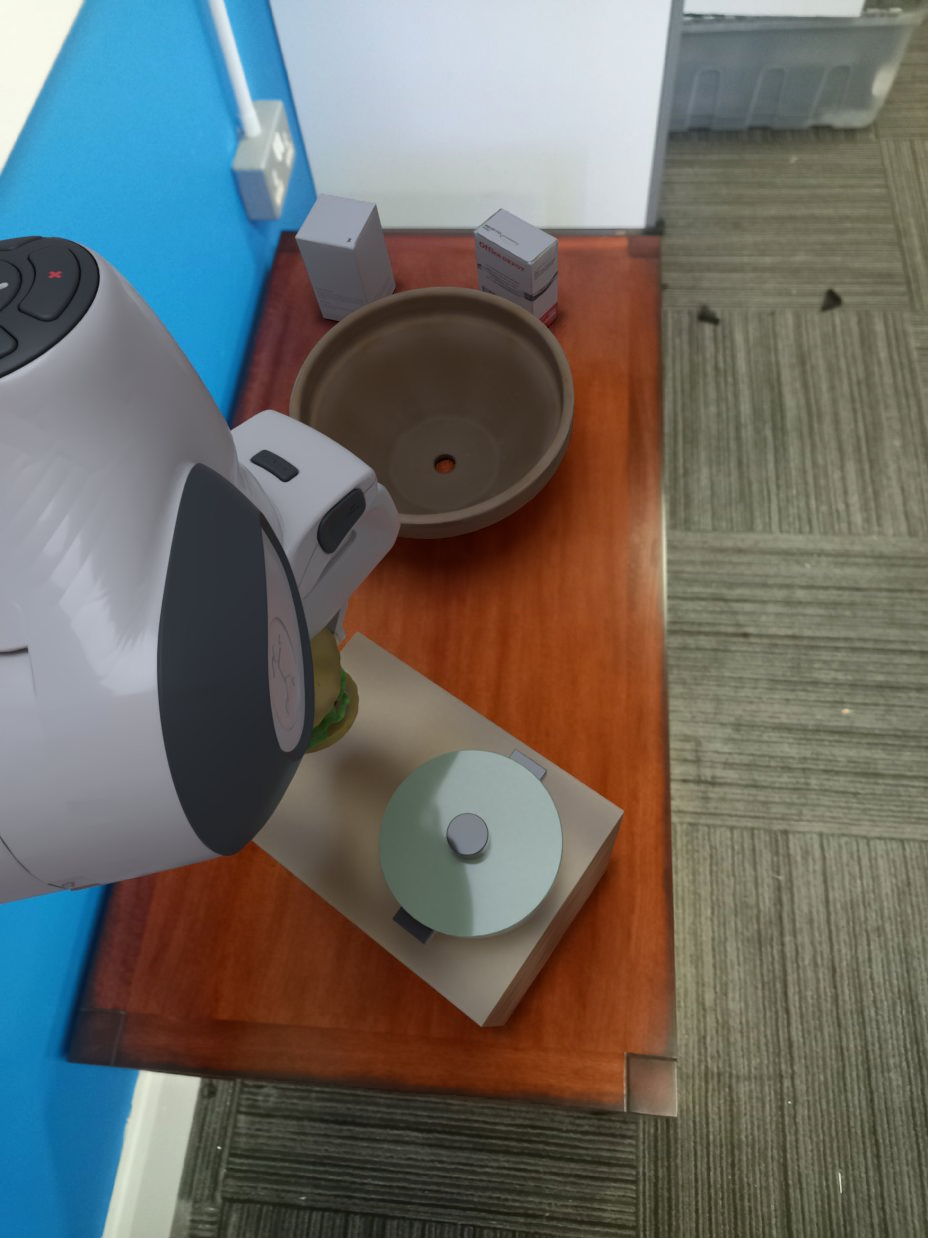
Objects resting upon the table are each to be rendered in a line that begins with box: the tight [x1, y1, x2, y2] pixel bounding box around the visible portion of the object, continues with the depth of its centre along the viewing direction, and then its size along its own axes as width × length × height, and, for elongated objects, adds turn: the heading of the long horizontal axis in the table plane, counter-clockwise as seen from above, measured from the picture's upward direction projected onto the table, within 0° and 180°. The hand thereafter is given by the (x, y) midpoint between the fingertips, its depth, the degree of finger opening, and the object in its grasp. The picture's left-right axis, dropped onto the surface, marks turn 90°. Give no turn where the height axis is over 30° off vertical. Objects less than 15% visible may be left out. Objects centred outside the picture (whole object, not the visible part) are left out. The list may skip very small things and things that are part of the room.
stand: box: [251, 630, 626, 1028], centre depth 70 cm, size 16×23×24 cm
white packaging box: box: [294, 193, 397, 322], centre depth 105 cm, size 7×7×13 cm
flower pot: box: [288, 286, 575, 540], centre depth 93 cm, size 28×28×13 cm
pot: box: [379, 749, 563, 946], centre depth 54 cm, size 12×11×8 cm
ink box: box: [473, 207, 559, 328], centre depth 102 cm, size 8×5×12 cm, turn 48°
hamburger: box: [305, 626, 359, 754], centre depth 48 cm, size 8×7×12 cm
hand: (284, 692), depth 50 cm, fingers closed on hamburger, 6 cm apart
